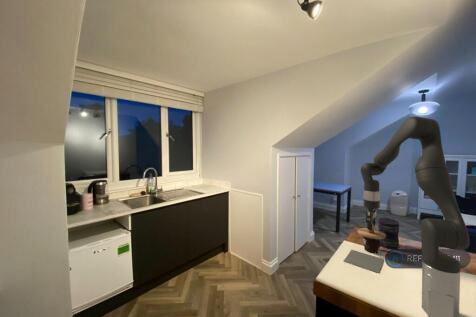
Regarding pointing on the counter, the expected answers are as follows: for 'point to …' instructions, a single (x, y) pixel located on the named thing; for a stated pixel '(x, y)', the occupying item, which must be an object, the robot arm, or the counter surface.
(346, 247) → the counter surface
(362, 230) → the lid
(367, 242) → the coffee mug
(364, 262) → the mat
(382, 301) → the counter surface
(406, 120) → the robot arm
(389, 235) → the storage jar
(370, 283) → the counter surface
